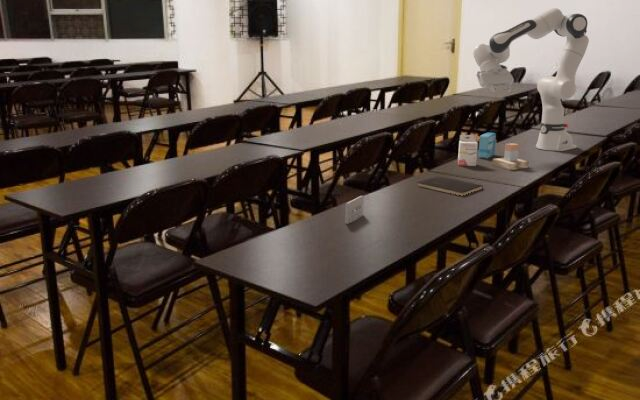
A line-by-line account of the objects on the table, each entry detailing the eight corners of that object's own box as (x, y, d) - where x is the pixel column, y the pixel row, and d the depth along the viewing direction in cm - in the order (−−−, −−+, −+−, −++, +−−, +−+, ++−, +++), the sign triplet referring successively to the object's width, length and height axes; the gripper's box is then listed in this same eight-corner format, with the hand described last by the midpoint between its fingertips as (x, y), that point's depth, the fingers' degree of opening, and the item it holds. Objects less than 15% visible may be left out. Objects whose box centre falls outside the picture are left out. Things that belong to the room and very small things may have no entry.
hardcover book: (461, 197, 242) (462, 192, 241) (416, 187, 258) (417, 182, 257) (482, 190, 252) (483, 184, 252) (438, 180, 268) (438, 175, 267)
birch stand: (511, 162, 297) (511, 156, 296) (528, 167, 286) (528, 161, 285) (492, 164, 292) (492, 159, 291) (509, 170, 282) (509, 164, 281)
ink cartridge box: (458, 165, 291) (460, 136, 287) (457, 163, 296) (459, 134, 291) (476, 166, 290) (478, 136, 286) (474, 163, 295) (476, 134, 290)
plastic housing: (511, 158, 291) (513, 143, 289) (517, 160, 288) (519, 144, 285) (503, 159, 289) (505, 144, 287) (509, 161, 286) (511, 145, 283)
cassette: (360, 214, 221) (360, 195, 219) (364, 215, 220) (364, 195, 218) (344, 223, 212) (344, 203, 209) (348, 224, 211) (348, 204, 208)
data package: (486, 159, 304) (488, 136, 300) (478, 158, 306) (479, 135, 303) (494, 154, 313) (496, 132, 310) (486, 153, 316) (488, 131, 312)
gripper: (478, 67, 303) (489, 88, 298) (508, 66, 311) (520, 86, 306) (472, 75, 308) (482, 96, 303) (502, 73, 316) (513, 94, 311)
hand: (502, 91), depth 304 cm, fingers open, 8 cm apart
